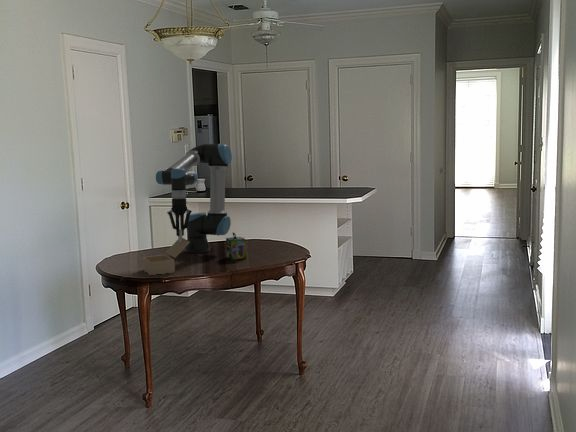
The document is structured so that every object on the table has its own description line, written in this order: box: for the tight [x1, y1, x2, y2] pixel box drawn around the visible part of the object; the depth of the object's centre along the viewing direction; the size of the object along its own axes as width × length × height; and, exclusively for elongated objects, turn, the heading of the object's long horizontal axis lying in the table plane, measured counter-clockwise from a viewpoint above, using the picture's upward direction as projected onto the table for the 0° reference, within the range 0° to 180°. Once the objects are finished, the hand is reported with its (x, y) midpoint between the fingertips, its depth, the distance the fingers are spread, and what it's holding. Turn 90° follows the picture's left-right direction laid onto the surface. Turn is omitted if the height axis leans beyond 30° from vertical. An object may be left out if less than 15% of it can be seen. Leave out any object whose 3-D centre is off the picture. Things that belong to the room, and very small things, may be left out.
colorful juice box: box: [225, 231, 247, 261], centre depth 358 cm, size 9×9×15 cm
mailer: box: [141, 254, 176, 276], centre depth 329 cm, size 15×13×7 cm
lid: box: [165, 237, 190, 259], centre depth 333 cm, size 15×11×1 cm
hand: (180, 241), depth 333 cm, fingers closed
